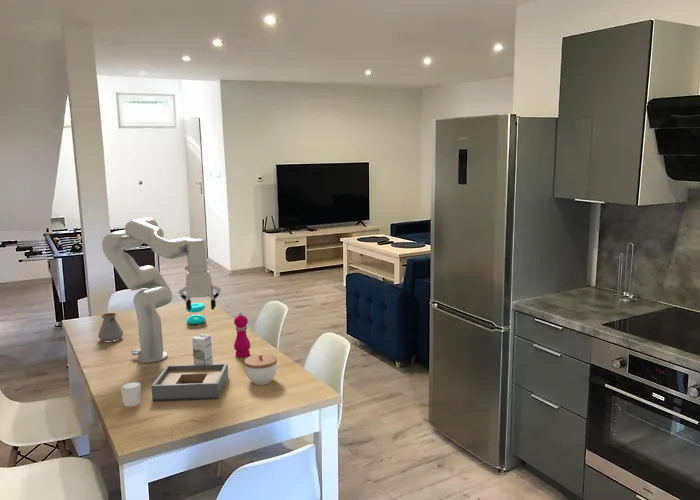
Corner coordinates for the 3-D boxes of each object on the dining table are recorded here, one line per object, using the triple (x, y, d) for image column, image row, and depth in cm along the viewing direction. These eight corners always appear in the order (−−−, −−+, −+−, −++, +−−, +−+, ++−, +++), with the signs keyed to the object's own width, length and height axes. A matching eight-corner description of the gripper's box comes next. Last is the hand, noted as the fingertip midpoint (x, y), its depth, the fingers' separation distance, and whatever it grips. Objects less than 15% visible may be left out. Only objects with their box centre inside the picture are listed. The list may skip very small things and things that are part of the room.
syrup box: (213, 367, 231) (211, 334, 229) (205, 372, 226) (203, 338, 223) (202, 365, 233) (199, 333, 231) (193, 370, 228) (191, 337, 225)
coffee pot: (97, 338, 272) (94, 309, 269) (122, 334, 278) (119, 306, 275) (102, 351, 254) (99, 320, 251) (128, 346, 259) (125, 316, 257)
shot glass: (125, 399, 201) (123, 381, 200) (144, 398, 202) (143, 380, 201) (119, 408, 195) (117, 389, 194) (139, 407, 195) (137, 388, 194)
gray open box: (152, 401, 200) (151, 385, 199) (168, 379, 219) (167, 365, 218) (218, 399, 200) (217, 383, 199) (228, 377, 220) (227, 363, 219)
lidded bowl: (263, 390, 207) (262, 362, 205) (238, 383, 214) (237, 357, 212) (284, 378, 218) (283, 352, 216) (260, 372, 224) (258, 347, 223)
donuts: (188, 302, 299) (206, 302, 299) (189, 320, 301) (207, 319, 301) (182, 307, 289) (201, 307, 289) (184, 325, 291) (202, 325, 291)
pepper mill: (247, 358, 241) (244, 314, 237) (231, 357, 242) (229, 314, 239) (253, 352, 248) (251, 310, 244) (238, 352, 249) (236, 309, 246)
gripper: (174, 271, 220) (177, 312, 223) (217, 269, 220) (220, 310, 223) (179, 268, 227) (183, 308, 230) (221, 266, 228) (224, 306, 230)
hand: (201, 309), depth 226 cm, fingers open, 9 cm apart
